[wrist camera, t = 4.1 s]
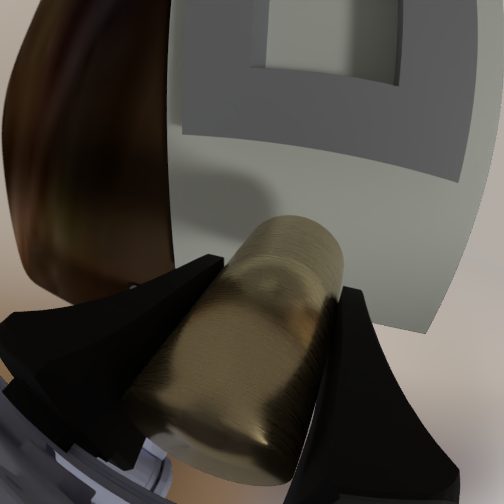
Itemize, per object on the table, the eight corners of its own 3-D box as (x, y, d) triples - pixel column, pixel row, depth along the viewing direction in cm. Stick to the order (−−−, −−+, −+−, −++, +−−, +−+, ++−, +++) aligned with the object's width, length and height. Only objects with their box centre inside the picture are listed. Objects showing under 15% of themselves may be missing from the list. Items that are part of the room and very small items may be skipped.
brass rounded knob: (332, 313, 12) (279, 496, 6) (243, 290, 13) (144, 444, 7) (354, 227, 10) (314, 443, 4) (247, 206, 11) (99, 360, 5)
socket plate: (424, 325, 16) (428, 358, 14) (182, 265, 20) (159, 289, 18) (489, -46, 4) (507, -64, 2) (188, -70, 9) (160, -87, 6)
